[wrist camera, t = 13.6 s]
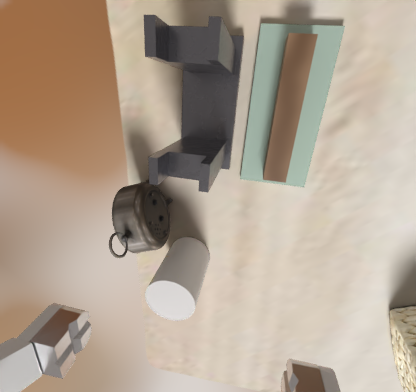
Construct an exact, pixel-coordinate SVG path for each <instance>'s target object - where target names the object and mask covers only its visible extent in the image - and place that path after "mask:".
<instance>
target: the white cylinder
mask: <svg viewBox="0 0 416 392" xmlns="http://www.w3.org/2000/svg"><path fill="white" fill-rule="evenodd" d="M209 260H210V253H209V250H208V249H207V247H206V246H205V245H204V244H203V243H202V242H201V241H199V240H197V239H195V238H191V237H183V238H179V239H177V240H176V241H175V242H174V243H173V244H172V246H171V248H170V250H169V251H168V253H167V255H166V257H165V258H164V260H163V262H162V263H161V265H160V267H159V269H158V270H157V272H156V274H155V276H154V277H153V279H152V281H151V282H150V284H149V286H148V288H147V289H146V292H145V298H146V302H147V304H148V306H149V307H150V308H151V309H152V310H153V311H154V312H155V313H156V314H158V315H159V316H161V317H163V318H166V319H169V320H175V321H179V320H184V319H187V318H189V317H190V316H191V315H192V314H193V313H194V310H195V307H196V304H197V300H198V297H199V294H200V290H201V287H202V284H203V280H204V277H205V273H206V270H207V267H208V263H209Z"/></svg>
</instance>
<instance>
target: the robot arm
mask: <svg viewBox="0 0 416 392" xmlns="http://www.w3.org/2000/svg"><path fill="white" fill-rule="evenodd" d="M88 319H89V312H88V311H84V310H80V309H76V308H72V307H68V306H65V305H60V304H56V303H53V304H51V305H50V306H48V307H47V308H46V309H45V310H44V311H43V313H41V314H40V316H38V317H37V318H36V319H35V320H34V321H33V322H32V323H31V324H30V325H29V326H28V327H27V328H26V329H25V330H24V331H23V332H22V333H21V334H20V335H19V336H18V337H17V338H11V339H10V340H7V341H5V342H4V343H2V344H0V392H20V391H22V390H23V389H24V388H25V387H27V386H28V385H30V384H31V383H33V382H34V381H35V380H37V379H38V378H39V377H41V376H42V374H45V375H49V376H53V377H58V378H62V379H63V377H64V376H65V375H66V373H67V372H68V370H69V369H70V367H71V366H72V364H73V363H74V362H75V354H76V353H78V352H80V351H81V350H83V348H84V346H85V345H86V344H87V342H88V340H89V337H90V335H91V324H90V323H89V322H88V321H87V320H88ZM286 366H287V370H286V371H284V372H283V376H282V381H281V392H340V388H339V385H338V381H337V378H336V375H335V372H334V371H333V369H331V368H327V367H323V366H318V365H316V364H311V363H307V362H302V361H297V360H293V359H289V360H288V361H287V364H286Z"/></svg>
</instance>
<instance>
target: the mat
mask: <svg viewBox="0 0 416 392" xmlns="http://www.w3.org/2000/svg"><path fill="white" fill-rule="evenodd" d="M344 28H345V26H329V25H296V24H263V23H261V28H260V35H259V43H258V50H257V58H256V65H255V73H254V80H253V88H252V95H251V103H250V110H249V118H248V125H247V133H246V140H245V148H244V155H243V163H242V170H241V178H240V179H244V180H251V181H259V182H267V183H275V184H282V185H290V186H298V187H304V186H305V182H306V178H307V174H308V170H309V166H310V162H311V158H312V154H313V150H314V146H315V142H316V138H317V134H318V130H319V126H320V122H321V119H322V115H323V111H324V107H325V103H326V99H327V95H328V91H329V87H330V83H331V79H332V75H333V71H334V67H335V63H336V59H337V55H338V51H339V47H340V43H341V39H342V35H343V32H344ZM289 33H305V34H318V36H317V41H316V46H315V50H314V55H313V59H312V64H311V69H310V73H309V78H308V82H307V87H306V91H305V96H304V101H303V105H302V110H301V114H300V119H299V124H298V128H297V133H296V137H295V142H294V147H293V151H292V156H291V160H290V165H289V170H288V174H287V179H286V183H284V182H276V181H269V180H263V169H264V163H265V157H266V152H267V146H268V140H269V134H270V129H271V123H272V117H273V111H274V105H275V100H276V94H277V88H278V82H279V76H280V71H281V65H282V59H283V53H284V47H285V42H286V38H287V36H288V34H289Z"/></svg>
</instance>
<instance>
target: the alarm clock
mask: <svg viewBox="0 0 416 392" xmlns="http://www.w3.org/2000/svg"><path fill="white" fill-rule="evenodd" d="M170 202H172V199H171V198H170V199H168V200H167V201H166V200H165V198H164V196H163V195H162V193H161V192H160V190H159V189H158V188H157V187H156V186H155V185H153V184H149V180H146V182H143V183H138V184H134V185H130V186H127V187H123V188H121V189H120V190H119V191H118V192H117V194H116V196H115V198H114V202H113V207H112V219H113V226H114V229H115V232H116V233H114V234H112V236H111V237H110V240H109V249H110V251H111V253H112V254H113V256H115V257H117V258H122V257H124V256H125V254H126V253H127V250H129V251H130V252H132V253H140V252H146V251H151V250H157V249H159V248H161V247H162V246H163V245H164V244H165V243H166V241H167V239H168V236H169V232H170V215H169V210H168V204H169V203H170ZM115 235H117V237H118V239H119V241H120V242H121V244H122V245H123V246H124V247H125V248H126V249H125V252H124V254H123V255H117V254H115V253H114V251H113V249H112V239H113V237H114V236H115Z"/></svg>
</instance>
